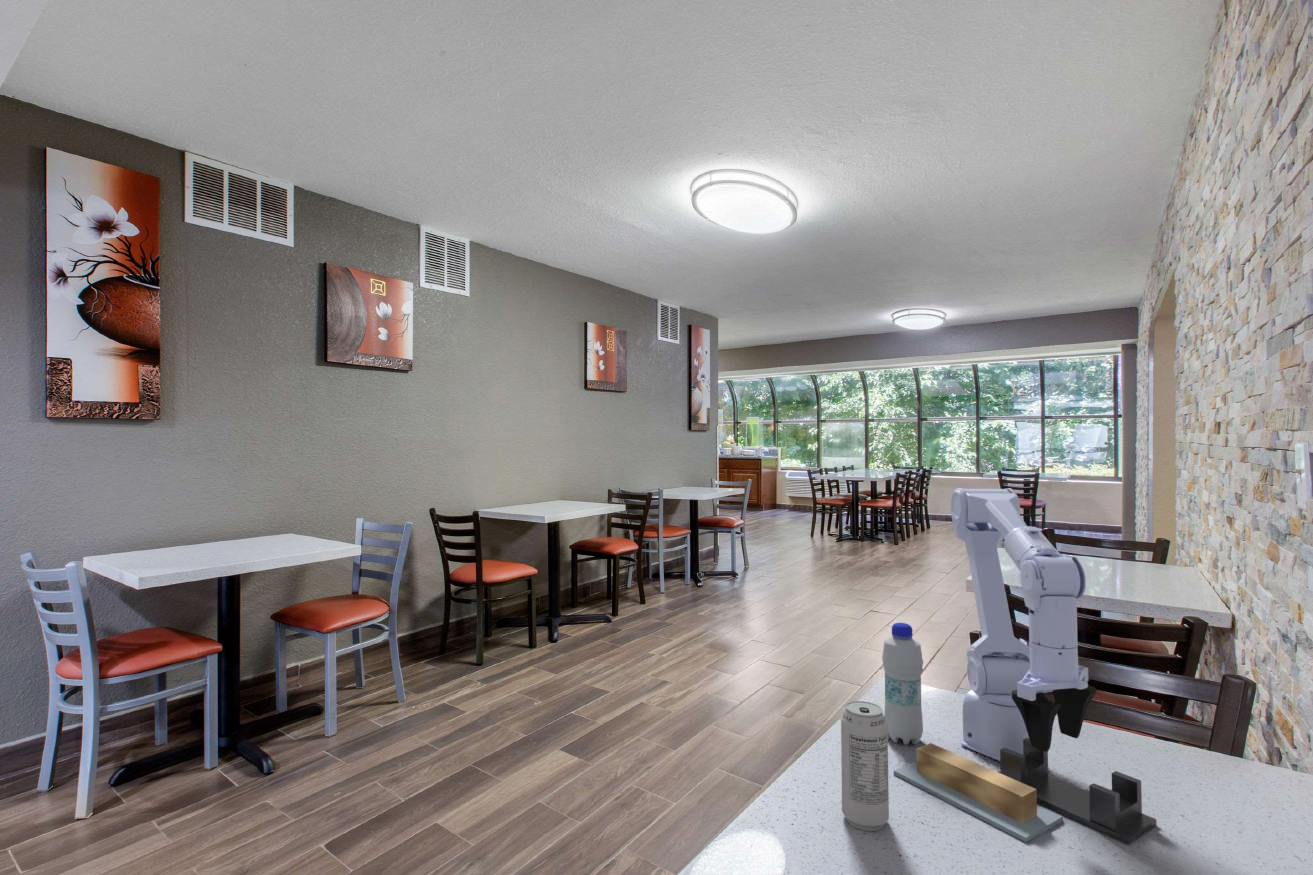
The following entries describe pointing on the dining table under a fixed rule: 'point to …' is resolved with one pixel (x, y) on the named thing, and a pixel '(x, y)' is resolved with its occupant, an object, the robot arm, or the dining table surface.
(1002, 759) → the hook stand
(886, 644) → the bottle
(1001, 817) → the mat
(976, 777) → the oak rail
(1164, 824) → the dining table surface
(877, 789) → the energy drink can
